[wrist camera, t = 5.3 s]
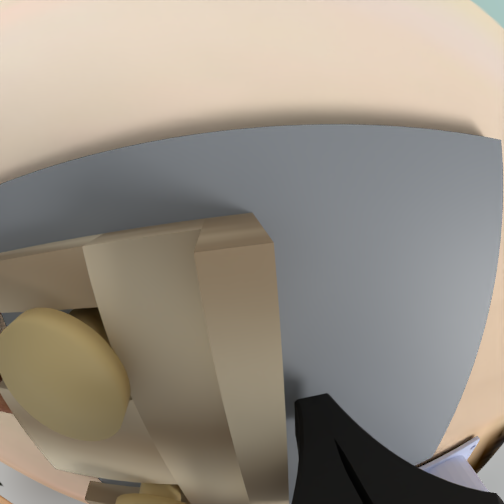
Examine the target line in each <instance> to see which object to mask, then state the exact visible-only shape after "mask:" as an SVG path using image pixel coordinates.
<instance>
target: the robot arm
mask: <svg viewBox="0 0 504 504" xmlns="http://www.w3.org/2000/svg"><path fill="white" fill-rule="evenodd" d="M294 405H295V436H296V441H297V448H298V456H299V462H298V471H297V478H296V484H295V489H294V494H293V499H292V503H291V504H504V503H503V501H502V499H501V498H500V497H499V496H498V495H497V494H496V493H491V492H489V491H488V490H487V488H486V487H485V485H484V484H483V482H482V481H481V480H480V478H479V477H478V475H477V474H476V473H475V471H474V470H473V468H472V467H471V466H470V464H469V463H468V462H467V459H468V457H469V456H470V454H471V453H472V451H473V450H474V448H475V447H476V445H477V443H478V442H479V440H480V439H479V437H478V436H476V437H474V438H473V439H471V440H469V441H468V442H466V443H464V444H463V445H461V446H459V447H457V448H456V449H454V450H452V451H450V452H448V453H447V454H445V455H443V456H441V457H439V458H437V459H435V460H433V461H431V462H429V463H427V464H425V465H423V466H421V467H419V468H418V467H416V466H414V465H412V464H411V463H409V462H407V461H406V460H404V459H402V458H401V457H399V456H398V455H396V454H395V453H393V452H392V451H390V450H389V449H388V448H386V447H385V446H384V445H382V444H381V443H380V442H378V441H377V440H376V439H375V438H373V437H372V436H371V435H370V434H369V433H367V432H366V431H365V430H364V429H363V428H362V427H361V426H359V425H358V424H357V423H356V422H355V421H354V420H353V419H352V418H351V417H350V416H349V415H348V414H347V413H346V412H345V411H344V410H343V409H342V408H341V407H340V406H339V405H338V404H337V403H336V401H335V400H334V399H333V398H332V397H331V396H330V395H329V394H328V393H325V394H320V395H316V396H311V397H306V398H301V399H297V400H296V401H295V402H294Z"/></svg>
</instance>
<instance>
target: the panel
mask: <svg viewBox="0 0 504 504" xmlns="http://www.w3.org/2000/svg"><path fill="white" fill-rule="evenodd" d="M93 307H98V309H99V312H100V315H101V318H102V322H103V325H104V328H105V331H106V334H107V336H108V339H109V342H110V345H111V348H112V349H113V350H114V352H115V353H116V354H117V356H118V357H119V359H120V361H121V362H122V364H123V366H124V368H125V370H126V372H127V375H128V378H129V382H130V393H131V394H130V400H129V403H128V406H127V410H126V413H125V416H124V419H123V422H122V425H121V427H120V429H119V430H118V432H117V433H116V434H115V435H113V436H112V437H110V438H108V439H105V440H100V441H83V440H77V439H73V438H70V437H67V436H64V435H62V434H59V433H57V432H55V431H53V430H51V429H50V428H48V427H46V426H45V425H43V424H42V423H40V422H39V421H37V420H36V419H35V418H34V417H32V416H31V415H30V414H29V413H28V412H27V411H26V410H25V409H24V408H23V407H22V406H21V405H20V404H19V403H18V402H17V401H16V399H15V398H14V397H13V395H12V394H11V393H10V391H9V390H8V388H7V386H6V385H5V383H4V381H3V380H2V381H1V382H0V394H1V395H2V397H3V399H4V400H5V402H6V403H7V405H8V407H9V408H10V410H11V411H12V413H13V414H14V416H15V417H16V419H17V420H18V422H19V423H20V425H21V426H22V428H23V429H24V430H25V432H26V433H27V434H28V436H29V437H30V438H31V440H32V441H33V442H34V444H35V445H36V446H37V448H38V449H39V450H40V451H41V453H42V454H43V455H44V456H45V458H46V459H47V460H48V461H49V462H50V463H51V465H52V466H53V467H54V468H55V469H58V470H62V471H66V472H71V473H75V474H80V475H86V476H91V477H97V478H104V479H111V480H118V481H127V482H138V483H152V484H178V485H179V487H180V488H181V502H184V503H186V504H289V482H288V456H287V433H286V413H285V394H284V377H283V360H282V345H281V330H280V316H279V302H278V289H277V276H276V264H275V251H274V242H273V241H272V239H271V238H270V237H269V235H268V234H267V232H266V231H265V230H264V228H263V227H262V225H261V224H260V222H259V221H258V220H257V218H256V217H255V215H254V214H253V213H245V214H236V215H228V216H220V217H212V218H204V219H197V220H189V221H182V222H175V223H168V224H161V225H154V226H147V227H141V228H134V229H128V230H121V231H115V232H109V233H103V234H97V235H91V236H85V237H80V238H74V239H68V240H63V241H57V242H52V243H47V244H41V245H36V246H31V247H26V248H21V249H16V250H11V251H7V252H2V253H0V313H10V312H25V311H27V310H30V309H33V308H51V309H56V310H65V309H80V308H93ZM139 492H140V487H131V486H122V485H114V484H107V483H101V482H95V481H90V483H89V486H88V490H87V493H86V497H85V500H86V501H87V502H88V503H89V504H115V503H116V499H117V497H119V496H120V495H123V494H131V493H139Z"/></svg>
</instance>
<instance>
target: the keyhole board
mask: <svg viewBox="0 0 504 504" xmlns="http://www.w3.org/2000/svg"><path fill="white" fill-rule="evenodd" d="M502 210H503V163H502V146H501V140H498V139H493V138H488V137H482V136H477V135H471V134H464V133H457V132H450V131H442V130H433V129H423V128H412V127H399V126H383V125H354V124H318V125H288V126H271V127H257V128H245V129H235V130H226V131H217V132H209V133H202V134H194V135H188V136H181V137H175V138H169V139H163V140H157V141H152V142H147V143H142V144H137V145H132V146H127V147H123V148H118V149H114V150H110V151H105V152H101V153H97V154H93V155H89V156H86V157H82V158H78V159H75V160H71V161H68V162H64V163H61V164H57V165H54V166H51V167H48V168H45V169H42V170H38V171H35V172H32V173H30V174H27V175H24V176H21V177H18V178H15V179H13V180H10V181H7V182H5V183H2V184H0V253H2V252H7V251H11V250H16V249H21V248H26V247H31V246H36V245H41V244H47V243H52V242H57V241H63V240H68V239H74V238H80V237H85V236H91V235H97V234H103V233H109V232H115V231H121V230H128V229H134V228H141V227H147V226H154V225H161V224H168V223H175V222H182V221H189V220H197V219H204V218H212V217H220V216H228V215H236V214H245V213H253V214H254V215H255V217H256V218H257V220H258V221H259V222H260V224H261V225H262V227H263V228H264V230H265V231H266V232H267V234H268V235H269V237H270V238H271V239H272V241H273V242H274V251H275V264H276V276H277V289H278V302H279V316H280V330H281V345H282V360H283V377H284V394H285V413H286V433H287V456H288V482H289V504H291V503H292V499H293V494H294V489H295V484H296V478H297V471H298V462H299V456H298V448H297V441H296V436H295V405H294V402H295V401H296V400H297V399H301V398H306V397H311V396H316V395H320V394H325V393H328V394H329V395H330V396H331V397H332V398H333V399H334V400H335V401H336V403H337V404H338V405H339V406H340V407H341V408H342V409H343V410H344V411H345V412H346V413H347V414H348V415H349V416H350V417H351V418H352V419H353V420H354V421H355V422H356V423H357V424H358V425H359V426H361V427H362V428H363V429H364V430H365V431H366V432H367V433H369V434H370V435H371V436H372V437H373V438H375V439H376V440H377V441H378V442H380V443H381V444H382V445H384V446H385V447H386V448H388V449H389V450H390V451H392V452H393V453H395V454H396V455H398V456H399V457H401V458H402V459H404V460H406V461H407V462H409V463H411V464H412V465H414V466H415V465H417V464H419V463H422V462H424V461H426V460H428V459H430V458H432V456H433V455H434V453H435V451H436V449H437V447H438V445H439V444H440V442H441V440H442V438H443V436H444V434H445V432H446V430H447V428H448V426H449V424H450V422H451V419H452V417H453V415H454V413H455V411H456V408H457V406H458V404H459V401H460V399H461V397H462V394H463V392H464V389H465V387H466V384H467V381H468V379H469V376H470V373H471V370H472V367H473V365H474V362H475V359H476V355H477V352H478V349H479V346H480V342H481V339H482V335H483V332H484V328H485V324H486V320H487V316H488V312H489V308H490V303H491V298H492V293H493V288H494V283H495V277H496V271H497V264H498V257H499V248H500V239H501V227H502ZM1 314H2V316H3V319H4V321H5V324H6V328H5V329H4V330H3V331H2V332H1V333H0V374H1V377H2V379H3V381H4V383H5V385H6V386H7V388H8V390H9V391H10V393H11V394H12V395H13V397H14V398H15V399H16V401H17V402H18V403H19V404H20V405H21V406H22V407H23V408H24V409H25V410H26V411H27V412H28V413H29V414H30V415H31V416H32V417H34V418H35V419H36V420H37V421H39V422H40V423H42V424H43V425H45V426H46V427H48V428H50V429H51V430H53V431H55V432H57V433H59V434H62V435H64V436H67V437H70V438H73V439H77V440H83V441H100V440H105V439H108V438H110V437H112V436H113V435H115V434H116V433H117V432H118V430H119V429H120V427H121V425H122V422H123V419H124V416H125V413H126V410H127V406H128V403H129V400H130V394H131V393H130V382H129V378H128V375H127V372H126V370H125V368H124V366H123V364H122V362H121V361H120V359H119V357H118V356H117V354H116V353H115V352H114V350H113V349H112V348H111V345H110V342H109V339H108V336H107V334H106V331H105V328H104V325H103V322H102V318H101V315H100V312H99V309H98V307H93V308H80V309H65V310H56V309H51V308H33V309H30V310H27V311H25V312H10V313H1ZM99 479H100V481H101V482H102V483H107V484H114V485H122V486H131V487H140V492H139V493H131V494H123V495H120V496H119V497H117V499H116V503H115V504H186V503H184V502H181V488H180V487H179V485H178V484H152V483H138V482H127V481H118V480H111V479H104V478H99Z"/></svg>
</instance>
